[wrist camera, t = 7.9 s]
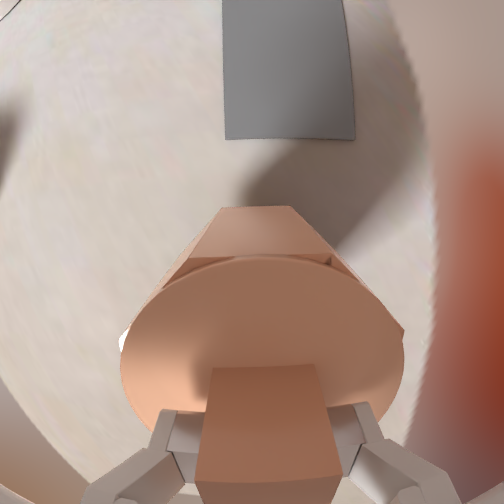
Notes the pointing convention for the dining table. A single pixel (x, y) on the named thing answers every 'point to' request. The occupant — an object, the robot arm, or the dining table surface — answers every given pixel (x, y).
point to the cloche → (262, 355)
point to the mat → (286, 70)
